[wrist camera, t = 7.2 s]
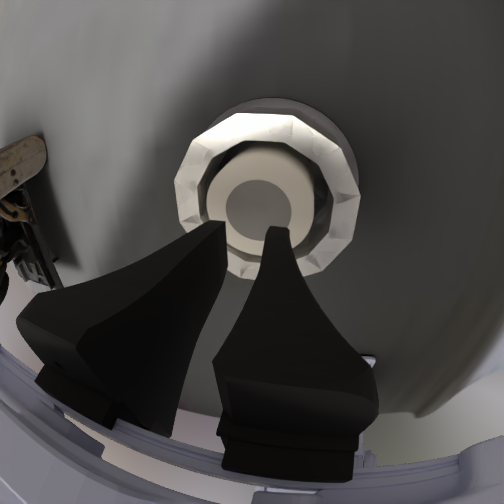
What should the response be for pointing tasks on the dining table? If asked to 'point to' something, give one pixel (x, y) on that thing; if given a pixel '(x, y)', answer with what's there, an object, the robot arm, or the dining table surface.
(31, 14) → the dining table surface
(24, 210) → the vintage camera
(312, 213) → the beige short cylinder
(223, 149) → the lens barrel
